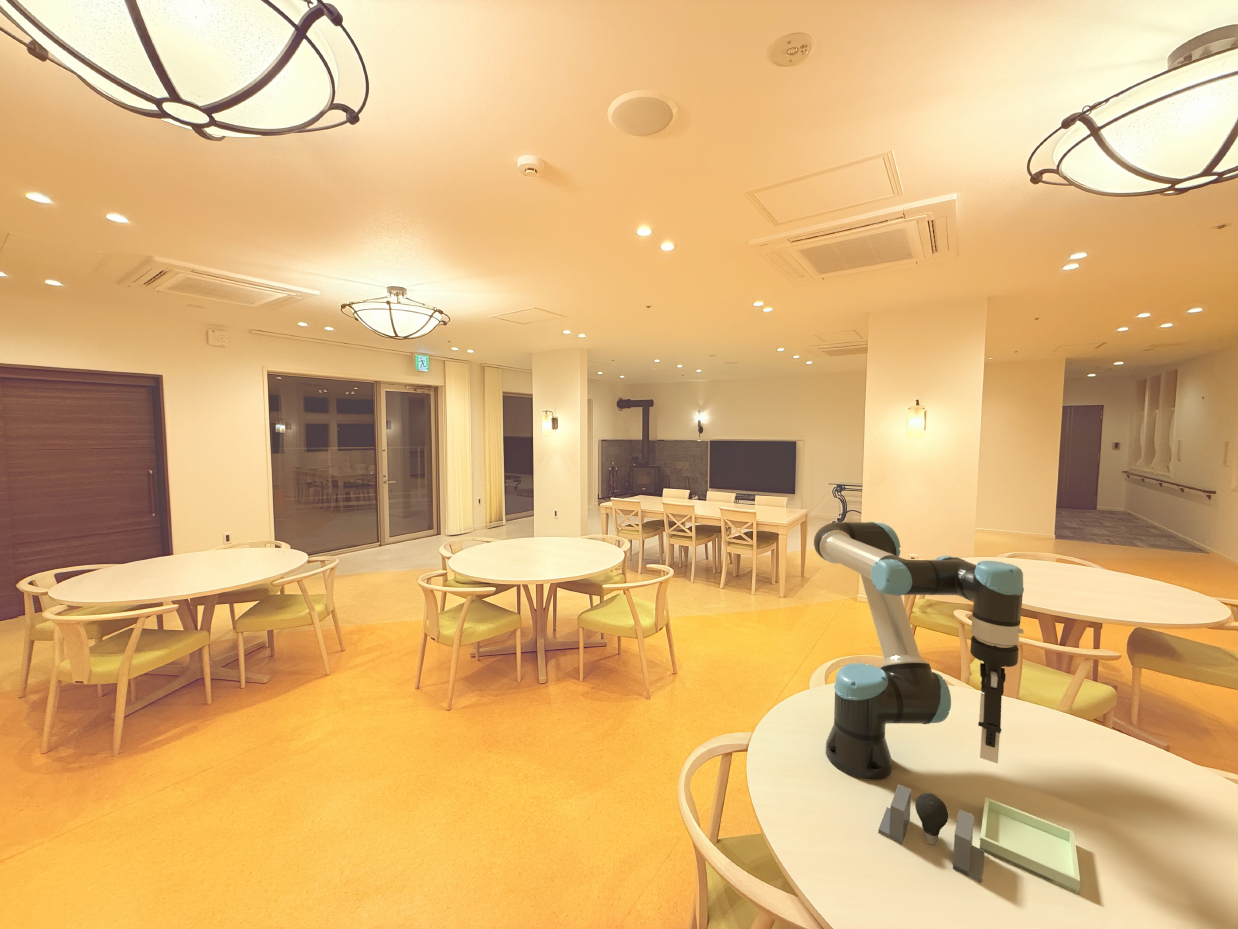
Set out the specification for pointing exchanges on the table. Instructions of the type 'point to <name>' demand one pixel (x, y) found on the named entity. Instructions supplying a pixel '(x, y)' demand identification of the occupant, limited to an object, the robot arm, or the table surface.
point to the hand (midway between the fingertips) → (987, 741)
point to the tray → (1030, 844)
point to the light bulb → (931, 816)
